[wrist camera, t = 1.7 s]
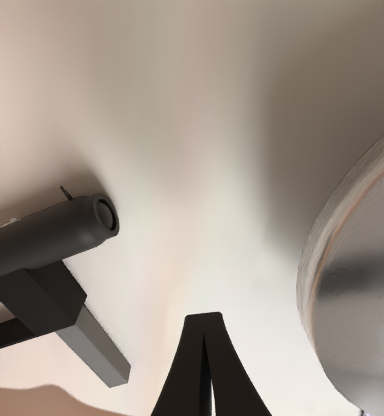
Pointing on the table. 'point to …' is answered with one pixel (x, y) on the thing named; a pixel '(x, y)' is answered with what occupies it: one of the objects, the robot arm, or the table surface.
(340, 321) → the cooker lid
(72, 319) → the gun
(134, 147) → the table surface
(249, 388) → the robot arm
